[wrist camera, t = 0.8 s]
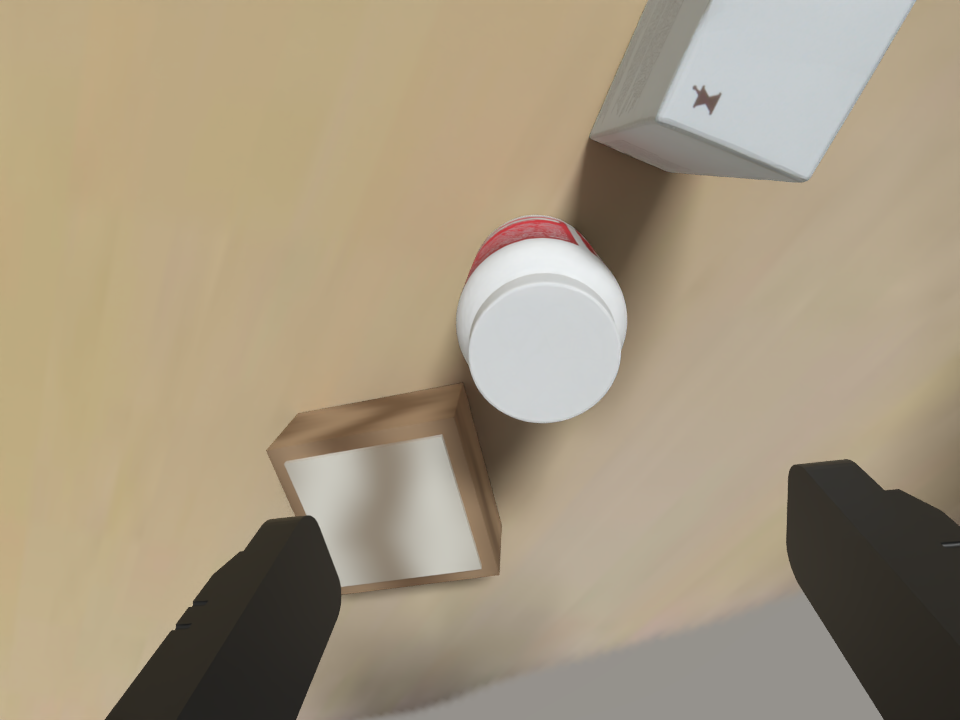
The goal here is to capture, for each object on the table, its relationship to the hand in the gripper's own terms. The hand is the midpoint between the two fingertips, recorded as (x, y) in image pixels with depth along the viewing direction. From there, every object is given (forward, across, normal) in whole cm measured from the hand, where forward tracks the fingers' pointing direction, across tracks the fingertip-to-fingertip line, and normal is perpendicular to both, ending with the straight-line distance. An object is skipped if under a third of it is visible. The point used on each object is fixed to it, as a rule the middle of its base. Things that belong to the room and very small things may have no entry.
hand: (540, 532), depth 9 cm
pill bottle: (+19, 0, 0) cm, 19 cm away
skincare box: (+19, -7, -8) cm, 21 cm away
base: (+18, +9, +10) cm, 23 cm away
